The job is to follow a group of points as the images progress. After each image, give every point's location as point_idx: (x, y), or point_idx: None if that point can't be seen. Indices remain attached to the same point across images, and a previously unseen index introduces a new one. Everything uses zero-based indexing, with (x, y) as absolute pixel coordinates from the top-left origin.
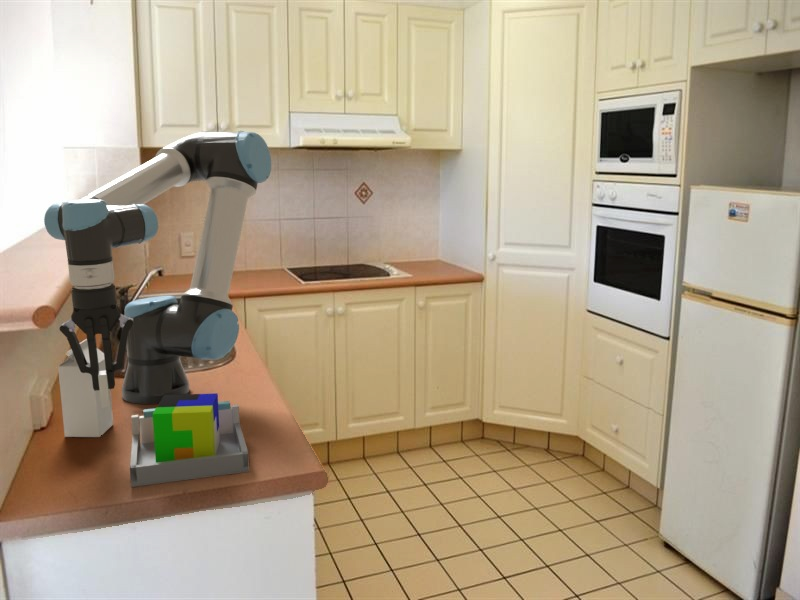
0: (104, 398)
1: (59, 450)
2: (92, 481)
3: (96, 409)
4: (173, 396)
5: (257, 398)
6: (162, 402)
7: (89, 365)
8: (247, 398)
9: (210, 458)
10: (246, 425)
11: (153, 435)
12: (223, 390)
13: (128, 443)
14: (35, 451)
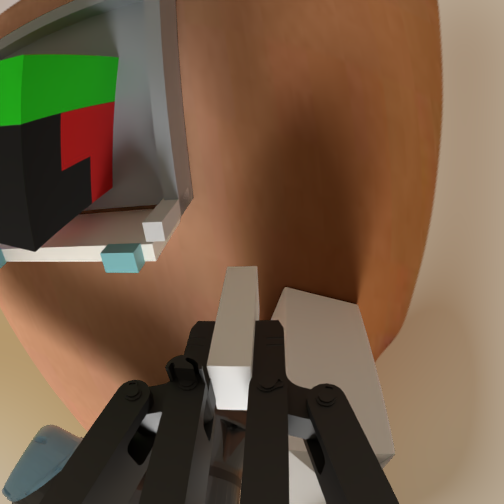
0: (240, 288)
1: (369, 240)
2: (273, 29)
3: (288, 335)
4: (8, 230)
5: (47, 359)
6: (17, 176)
7: (294, 431)
8: (60, 365)
9: (5, 36)
10: (19, 265)
11: (141, 220)
12: (105, 401)
13: (213, 238)
14: (414, 249)
